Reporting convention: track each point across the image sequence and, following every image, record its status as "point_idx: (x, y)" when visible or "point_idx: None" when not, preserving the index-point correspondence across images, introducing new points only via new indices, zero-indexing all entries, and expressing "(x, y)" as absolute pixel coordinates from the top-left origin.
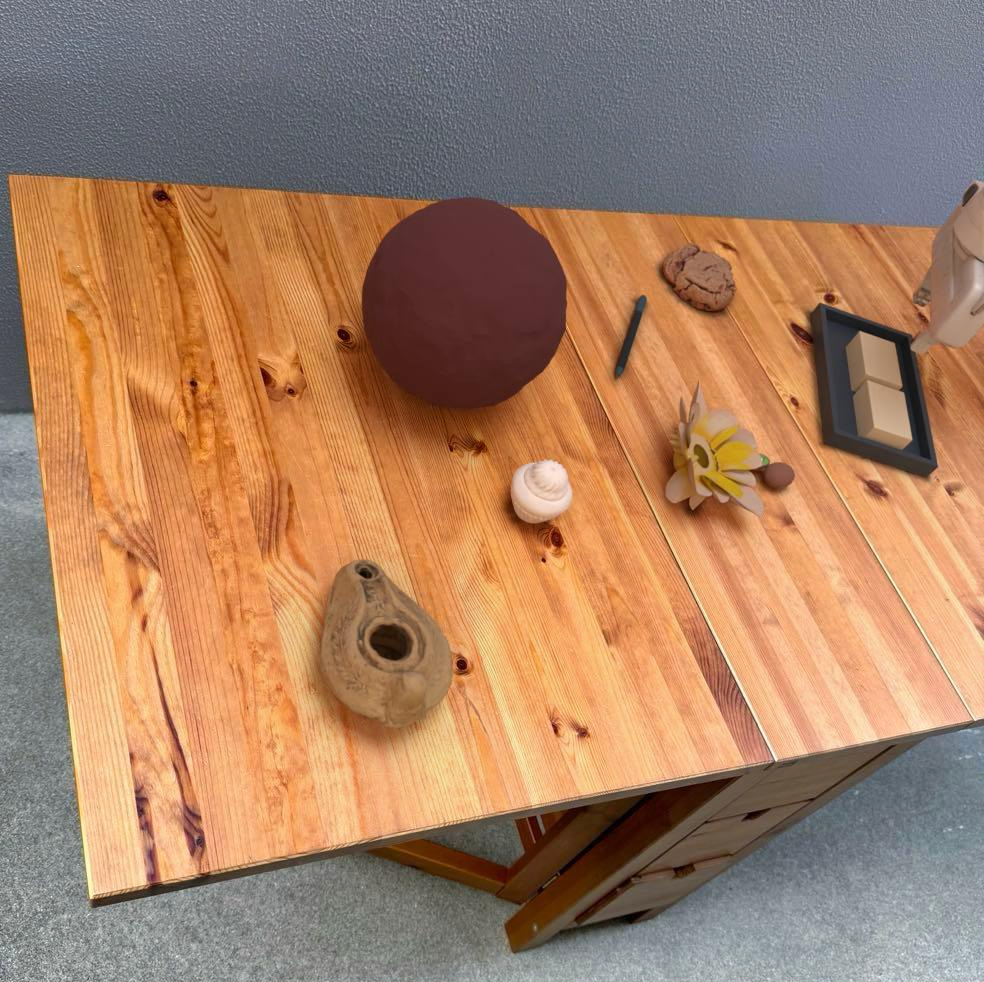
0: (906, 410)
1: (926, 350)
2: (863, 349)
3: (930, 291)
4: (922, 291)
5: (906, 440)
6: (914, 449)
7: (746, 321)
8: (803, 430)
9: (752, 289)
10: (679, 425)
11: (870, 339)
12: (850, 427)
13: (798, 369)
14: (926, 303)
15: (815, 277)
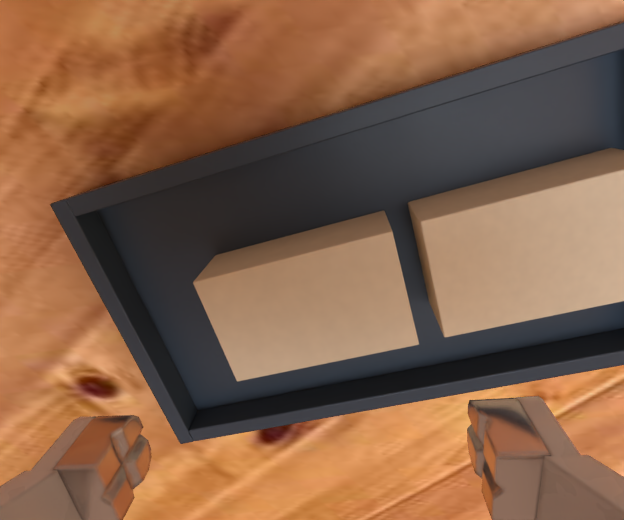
0: (512, 201)
1: (552, 417)
2: (311, 363)
3: (65, 488)
4: (112, 518)
5: None
6: (547, 91)
7: (336, 510)
8: (613, 376)
9: (230, 513)
10: None
11: (247, 351)
12: None
13: (405, 412)
14: (122, 431)
15: (59, 421)
